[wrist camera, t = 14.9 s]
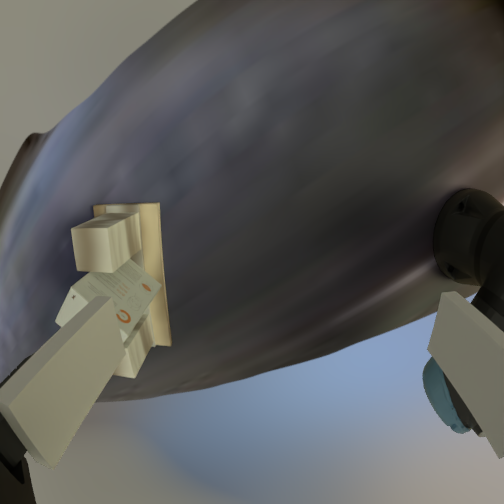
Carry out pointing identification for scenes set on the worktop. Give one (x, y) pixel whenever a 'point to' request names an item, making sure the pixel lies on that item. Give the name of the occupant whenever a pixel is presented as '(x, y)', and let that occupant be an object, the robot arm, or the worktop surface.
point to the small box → (113, 295)
